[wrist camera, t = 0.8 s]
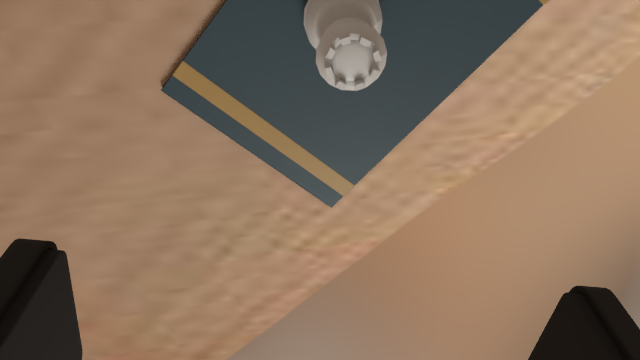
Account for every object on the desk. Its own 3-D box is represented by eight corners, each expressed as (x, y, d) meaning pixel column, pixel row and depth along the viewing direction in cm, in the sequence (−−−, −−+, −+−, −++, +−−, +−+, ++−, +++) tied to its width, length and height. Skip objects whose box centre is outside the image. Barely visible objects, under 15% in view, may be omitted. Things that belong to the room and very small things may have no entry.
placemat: (402, -243, 23) (403, -244, 23) (578, -32, 28) (580, -31, 28) (162, 88, 31) (160, 90, 31) (331, 205, 36) (331, 208, 36)
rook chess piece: (378, -31, 28) (401, 5, 21) (383, 49, 30) (405, 104, 23) (297, -19, 28) (294, 20, 21) (309, 59, 30) (309, 116, 24)
